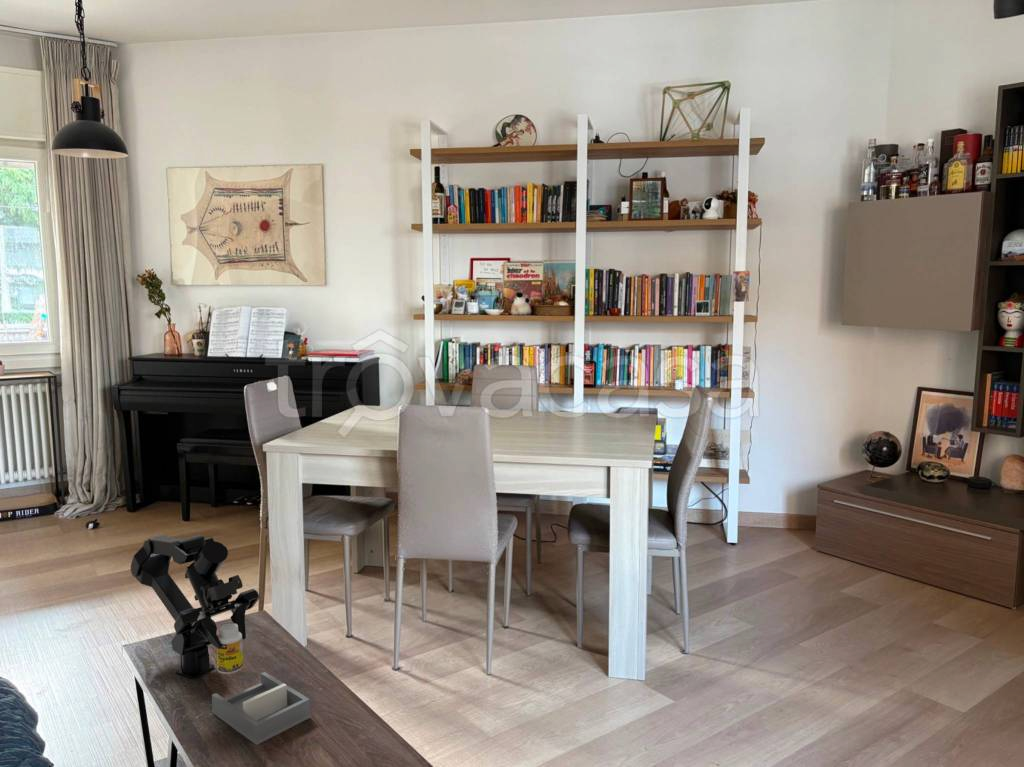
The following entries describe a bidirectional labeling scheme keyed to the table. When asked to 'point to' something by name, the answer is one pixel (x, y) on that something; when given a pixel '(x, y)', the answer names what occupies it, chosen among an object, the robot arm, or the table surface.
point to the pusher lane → (266, 726)
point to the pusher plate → (266, 702)
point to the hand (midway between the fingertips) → (232, 643)
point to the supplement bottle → (230, 649)
